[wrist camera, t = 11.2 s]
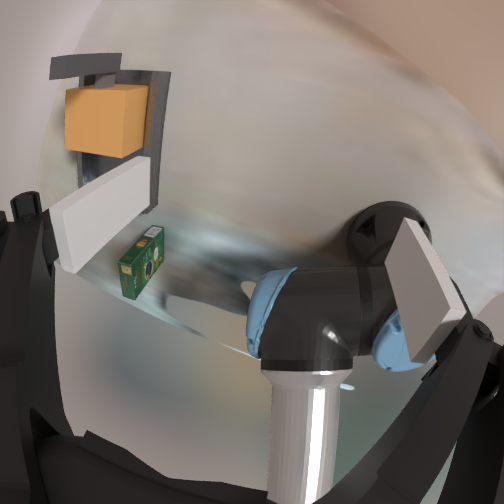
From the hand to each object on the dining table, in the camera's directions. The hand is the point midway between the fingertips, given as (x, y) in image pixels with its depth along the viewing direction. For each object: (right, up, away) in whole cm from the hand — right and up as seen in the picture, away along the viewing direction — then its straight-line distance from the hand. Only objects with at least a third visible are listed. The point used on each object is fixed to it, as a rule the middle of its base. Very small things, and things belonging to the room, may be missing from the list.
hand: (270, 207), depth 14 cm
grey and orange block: (-22, +23, +26) cm, 41 cm away
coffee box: (-19, 0, +42) cm, 47 cm away
